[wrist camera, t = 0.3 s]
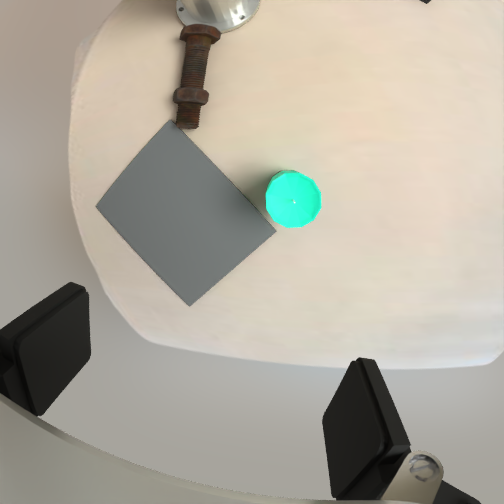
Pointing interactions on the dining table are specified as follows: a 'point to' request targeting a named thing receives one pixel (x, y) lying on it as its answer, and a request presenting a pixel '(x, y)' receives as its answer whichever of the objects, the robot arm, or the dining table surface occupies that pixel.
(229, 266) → the mat
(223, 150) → the dining table surface
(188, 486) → the robot arm
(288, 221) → the candle
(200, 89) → the bolt
